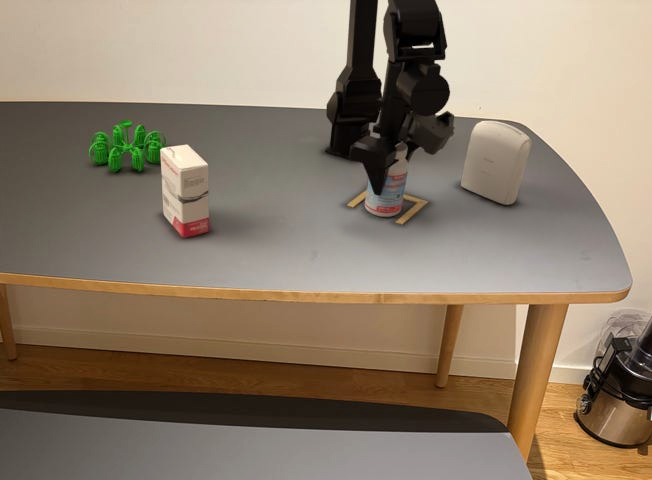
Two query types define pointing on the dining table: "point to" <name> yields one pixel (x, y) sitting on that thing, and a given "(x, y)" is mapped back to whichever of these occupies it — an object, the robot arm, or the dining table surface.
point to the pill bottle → (390, 188)
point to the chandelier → (127, 147)
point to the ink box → (185, 190)
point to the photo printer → (496, 161)
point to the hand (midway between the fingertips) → (386, 188)
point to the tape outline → (414, 209)
